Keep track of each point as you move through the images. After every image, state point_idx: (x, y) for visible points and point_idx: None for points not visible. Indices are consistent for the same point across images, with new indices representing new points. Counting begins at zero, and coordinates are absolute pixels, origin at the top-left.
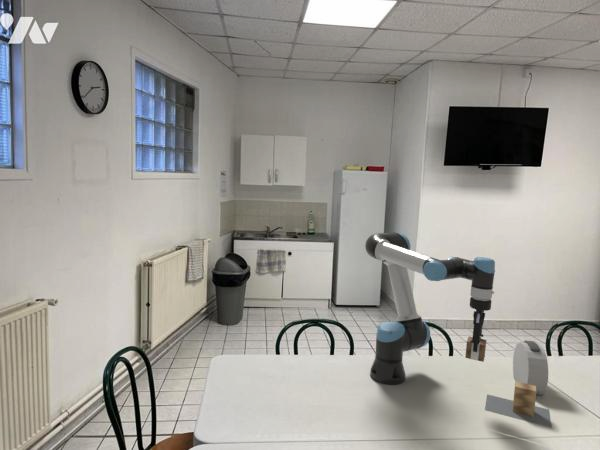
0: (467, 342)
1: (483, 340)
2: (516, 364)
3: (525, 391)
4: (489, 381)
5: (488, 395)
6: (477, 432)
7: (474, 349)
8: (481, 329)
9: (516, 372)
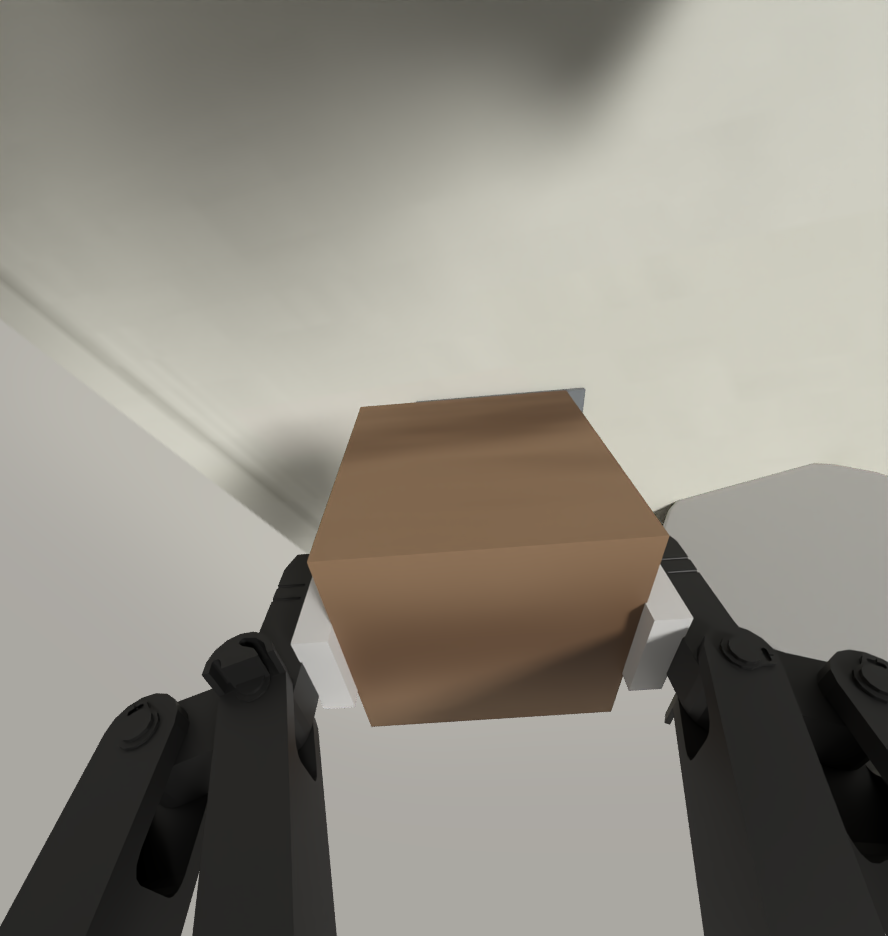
0: (312, 559)
1: (560, 697)
2: (870, 517)
3: None
4: (757, 374)
5: (574, 396)
6: (214, 404)
7: (287, 594)
8: (703, 908)
9: (822, 496)
